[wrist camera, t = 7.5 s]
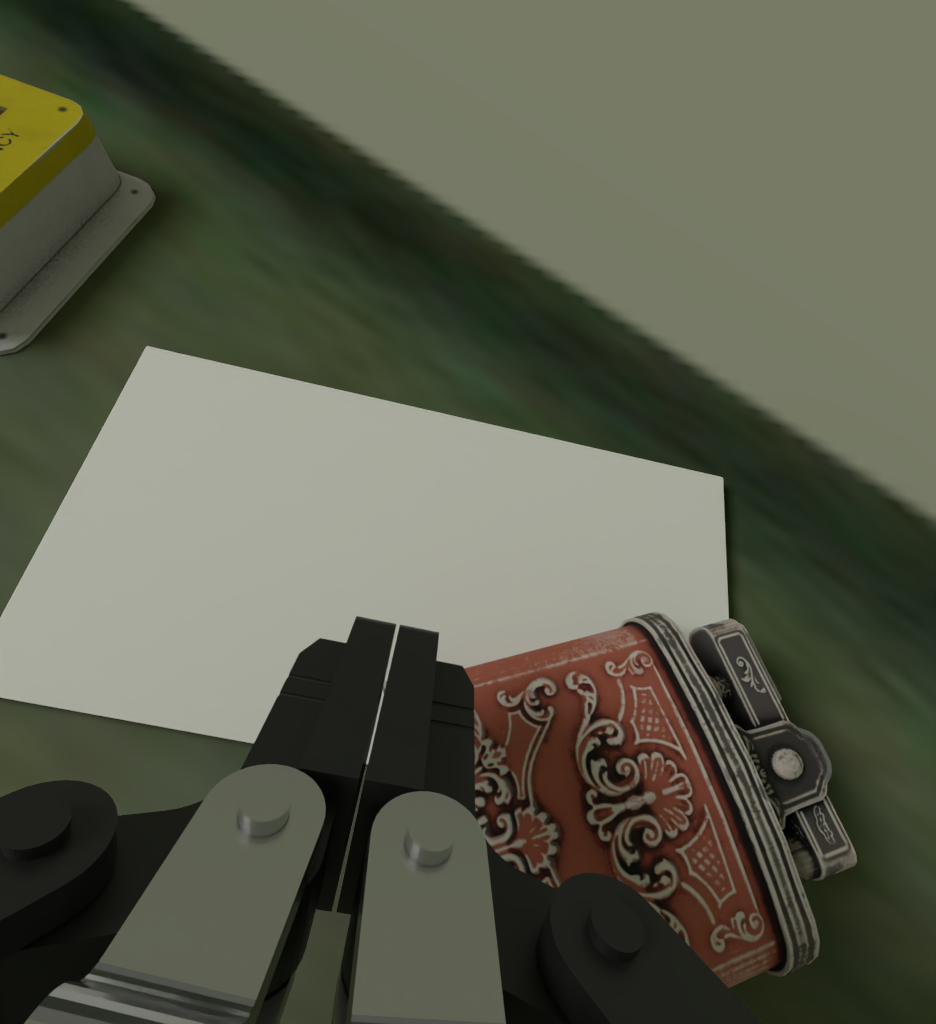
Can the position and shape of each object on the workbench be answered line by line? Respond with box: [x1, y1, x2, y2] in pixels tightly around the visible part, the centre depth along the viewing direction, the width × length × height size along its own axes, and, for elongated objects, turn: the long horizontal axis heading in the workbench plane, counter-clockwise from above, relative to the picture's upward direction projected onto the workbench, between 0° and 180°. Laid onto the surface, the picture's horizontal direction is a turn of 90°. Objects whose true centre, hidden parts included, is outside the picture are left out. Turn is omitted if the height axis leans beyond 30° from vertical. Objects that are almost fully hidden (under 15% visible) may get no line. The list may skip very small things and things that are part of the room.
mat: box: [0, 346, 729, 764], centre depth 17 cm, size 11×20×1 cm, turn 81°
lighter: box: [383, 612, 857, 988], centre depth 13 cm, size 8×3×10 cm
